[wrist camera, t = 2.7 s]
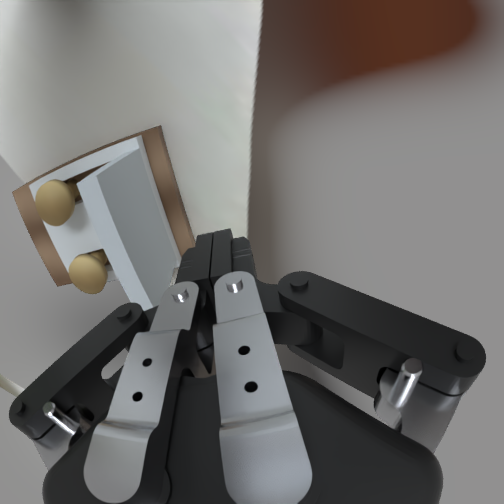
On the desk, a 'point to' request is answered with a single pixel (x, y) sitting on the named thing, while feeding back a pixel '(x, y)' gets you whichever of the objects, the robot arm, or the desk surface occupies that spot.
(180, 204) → the board
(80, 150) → the desk surface
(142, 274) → the panel
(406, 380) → the robot arm
